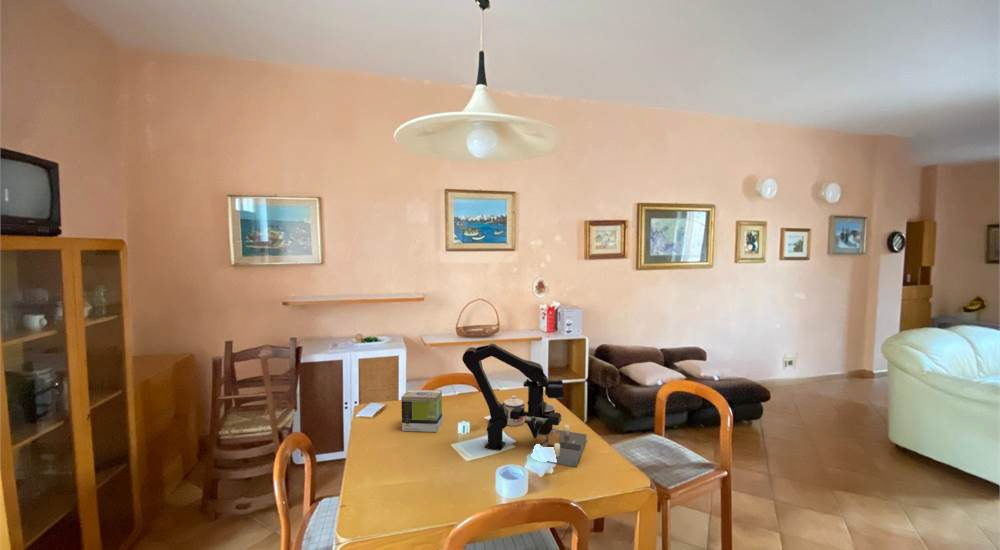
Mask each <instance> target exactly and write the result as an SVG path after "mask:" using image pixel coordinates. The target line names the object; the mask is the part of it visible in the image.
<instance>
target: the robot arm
mask: <svg viewBox="0 0 1000 550" xmlns="http://www.w3.org/2000/svg"><path fill="white" fill-rule="evenodd" d="M461 357H462V358H461V359H462V360H461V361H462V362H463V364H464V365H465V367H466V368H467V369H468V371H470V373H471V374H473V377H474V379H475V380H476V384H477V386H478V387H479V389H480V391H481V393H482V396H483V398H484V400H485V403H486V404H487V407H488V410H489V415H490V418H489V419H488V422H487V425H486V433H487V442H486V444H485V445H484V446H483V447H484V448H485V449H491V450H495V451H501V449H503V447H504V446H505V445H506V441H504V440H503V439H504V438H503V430H504V429H505V428H506V427H507V426H508V425H507V423H508V413H509V411H508V410H507V409H506V406H505V403H503V402H502V403H501V402H500V401H499V400H498V398H497V395H496V393H495V391H494V390H493V387H492V384H491V383H490V380H489V379H488V377H487V374H486V372H485V370H484V368H483V360H485V359H487V358H490V357H491V358H492V357H493V358H494V359H497V360H499V361H501V363H504V364H506V365H508V366H510V367H513V368H515V369H516V370H518V371H519V372H521V373H522V374H523V375H524V376H525V377H526V378H527V379H526V380H524V381H523V382H522V383H523V387H525V388H527V394H528V395H527V403H526V404H527V411H525V409H524V408H520V407H515V408H514V409H513V410H512V411H511V412H510V418H511V419H516V420H518V419H519V418H520V416H523V417H524V421H523V423H524V424H526V425H527V426H528V428H529V431H530V433H531V434H532V437H533V439H537V438H538V435H539V433H538V432H539V429H540V427H541V425H544V423H545V422H546V420H548V423H549V424H550V425H553V426H559V425H560V423H561V421H562V414H561V412H555V411H554V412H551V413H550V414H549V415H547V414H543V412H545V410H546V406H547V404H548V403H547V402H546V401H545V399H544V395H545V396H546V397H547V399H564V387H563V382H564V381H563V379H548V377H547V376H546V374H545V372H544V369H543V366H542V364H540V363H538V362H535V361H531V360H526V359H523V358H521V357H520V356H518V355H515V354H514V353H512V352H510V351H507V350H505V349H503V348H502V347H500V346H498V345H497V344H495V343H490V344H488V345H483V346H482V345H481V346H478V347H474V346H473V347H471V346H470V347H468V348H466V350H465V351H464V353H463V355H462V356H461ZM536 418H537V422H535V420H536Z"/></svg>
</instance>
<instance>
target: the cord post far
mask: <svg viewBox="0 0 1000 550" xmlns="http://www.w3.org/2000/svg"><path fill="white" fill-rule="evenodd" d="M563 428H564V429H563V431H564V436H565V437H569V432H570V425H569V424H564V427H563Z"/></svg>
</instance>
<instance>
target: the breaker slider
mask: <svg viewBox="0 0 1000 550" xmlns="http://www.w3.org/2000/svg"><path fill="white" fill-rule="evenodd" d="M555 443H560V433H558V432H550V434H549V445H554V444H555Z"/></svg>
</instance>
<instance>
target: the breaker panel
mask: <svg viewBox="0 0 1000 550" xmlns="http://www.w3.org/2000/svg"><path fill="white" fill-rule="evenodd" d="M550 432H558V433H560V443H559V444H560V456H559V457H556V459H557V464H556V465H562V466H566V467H567V466H568V467H574V468H577V467H578V464H579V461H580V459H581V456H582V455H583V450H584V449H585V446H586V443H587V434H586V433H580V432H573V431H569V437H565V436H564V430H560V429H554V428H552V429H551V431H550ZM549 434H550V433H549ZM549 434H547V435H546V438H545V439H544V441H543V442H542V444H541V446H543V447H554V445H549Z"/></svg>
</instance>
